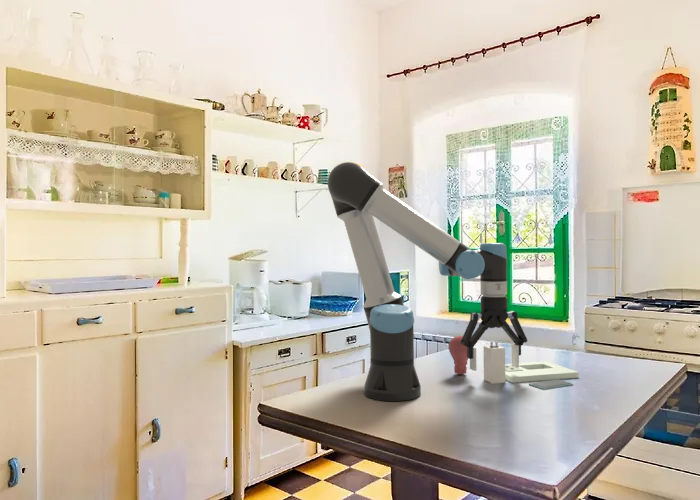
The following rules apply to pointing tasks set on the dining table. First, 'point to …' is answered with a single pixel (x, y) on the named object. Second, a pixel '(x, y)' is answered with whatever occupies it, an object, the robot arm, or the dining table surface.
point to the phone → (550, 384)
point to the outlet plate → (537, 372)
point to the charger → (494, 363)
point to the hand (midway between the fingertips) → (494, 368)
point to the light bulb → (458, 355)
